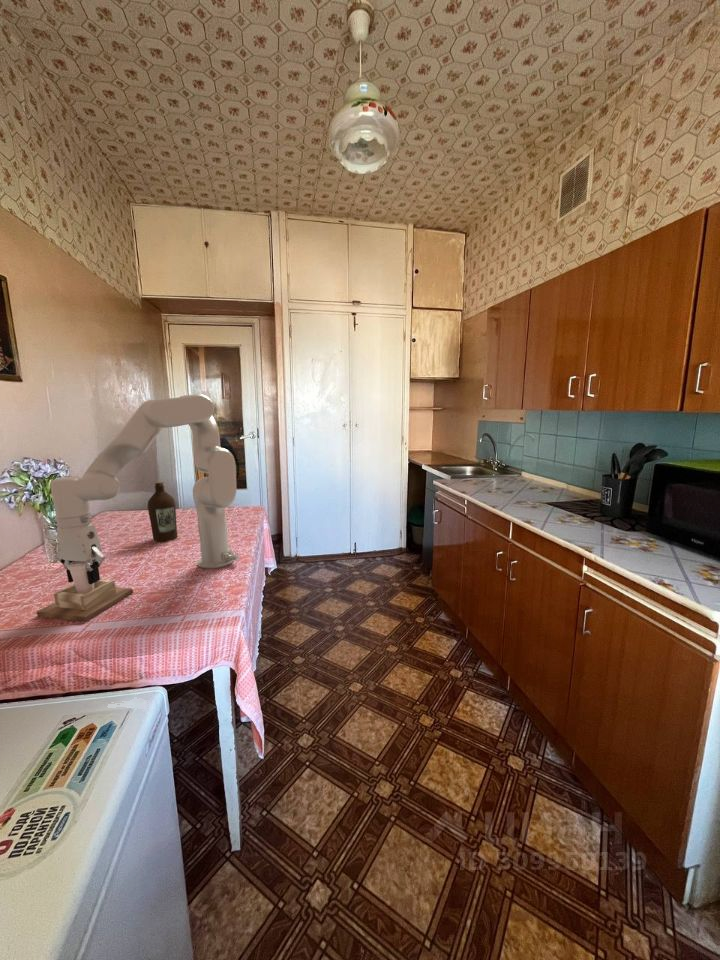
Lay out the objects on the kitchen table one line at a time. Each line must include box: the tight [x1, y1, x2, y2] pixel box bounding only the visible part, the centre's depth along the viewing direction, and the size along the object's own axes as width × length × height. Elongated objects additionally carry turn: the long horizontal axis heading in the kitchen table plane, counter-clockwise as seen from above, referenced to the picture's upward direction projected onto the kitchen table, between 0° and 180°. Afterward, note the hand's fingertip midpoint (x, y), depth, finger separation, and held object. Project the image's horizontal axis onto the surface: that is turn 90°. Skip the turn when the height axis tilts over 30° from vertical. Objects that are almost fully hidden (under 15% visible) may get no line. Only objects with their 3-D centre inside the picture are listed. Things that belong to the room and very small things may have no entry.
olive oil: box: [147, 481, 178, 543], centre depth 162 cm, size 11×11×25 cm
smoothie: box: [67, 557, 94, 594], centre depth 107 cm, size 6×6×14 cm
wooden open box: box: [36, 578, 134, 623], centre depth 109 cm, size 16×16×6 cm
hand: (84, 580), depth 108 cm, fingers closed on smoothie, 6 cm apart
